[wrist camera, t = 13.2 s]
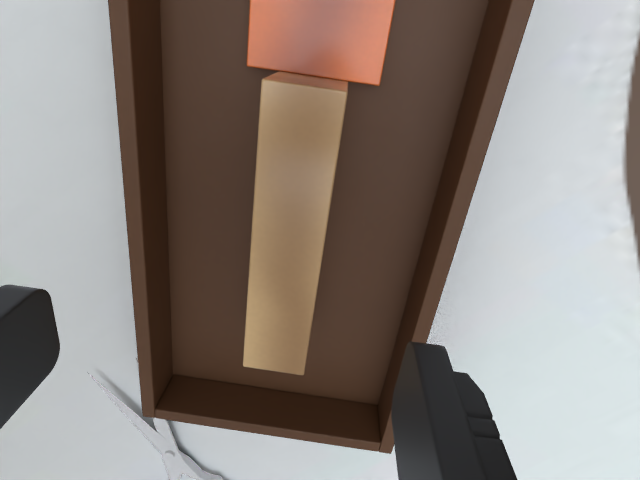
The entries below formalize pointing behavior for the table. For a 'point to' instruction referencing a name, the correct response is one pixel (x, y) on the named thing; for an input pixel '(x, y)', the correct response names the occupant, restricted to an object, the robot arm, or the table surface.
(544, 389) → the table surface
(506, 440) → the table surface
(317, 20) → the tan and orange bar
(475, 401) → the robot arm
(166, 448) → the scissors
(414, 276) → the tray
